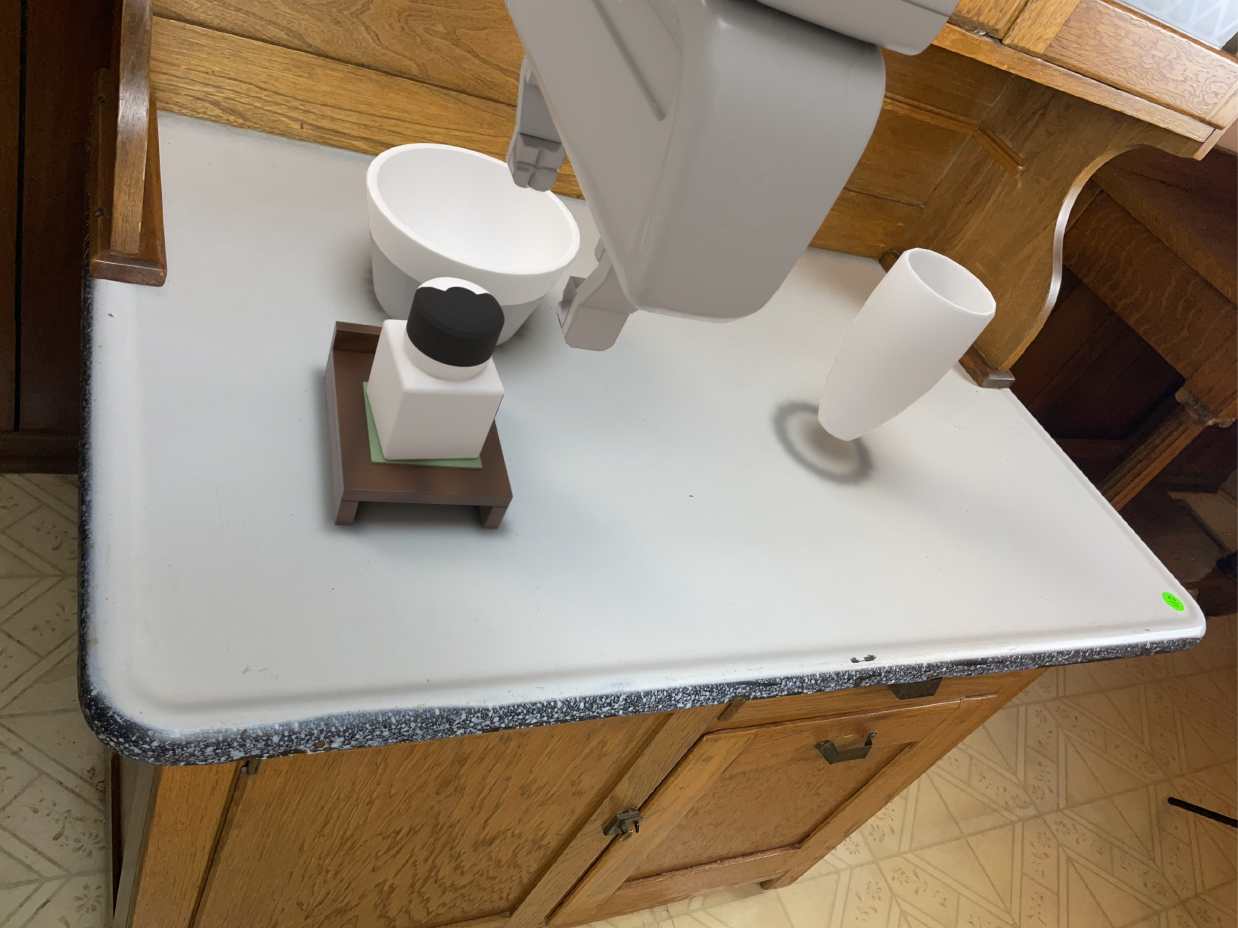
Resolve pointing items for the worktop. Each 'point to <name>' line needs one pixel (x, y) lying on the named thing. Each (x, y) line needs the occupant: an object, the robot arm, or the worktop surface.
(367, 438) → the shelf
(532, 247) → the bowl
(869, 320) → the cup
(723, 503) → the worktop surface
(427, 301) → the medicine bottle
